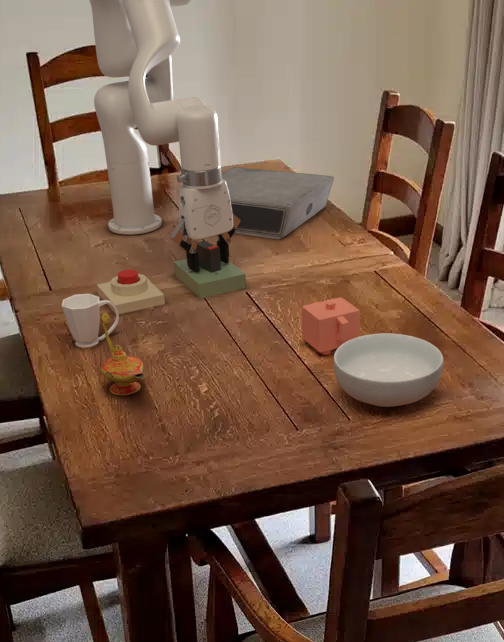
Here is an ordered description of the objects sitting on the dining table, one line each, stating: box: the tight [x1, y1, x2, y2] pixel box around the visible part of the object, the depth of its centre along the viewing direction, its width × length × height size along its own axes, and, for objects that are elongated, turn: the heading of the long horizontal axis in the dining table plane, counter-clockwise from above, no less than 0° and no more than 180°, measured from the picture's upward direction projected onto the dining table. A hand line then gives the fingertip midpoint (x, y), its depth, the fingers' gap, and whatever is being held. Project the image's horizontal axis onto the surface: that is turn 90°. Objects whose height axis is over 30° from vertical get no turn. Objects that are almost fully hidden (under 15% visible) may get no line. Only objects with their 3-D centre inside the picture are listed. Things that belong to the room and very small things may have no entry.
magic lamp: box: [100, 312, 146, 396], centre depth 153 cm, size 7×18×11 cm, turn 25°
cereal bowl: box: [333, 332, 444, 408], centre depth 149 cm, size 17×17×7 cm
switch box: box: [96, 273, 166, 315], centre depth 187 cm, size 12×10×4 cm
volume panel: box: [173, 258, 247, 299], centre depth 193 cm, size 14×10×3 cm
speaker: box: [221, 166, 335, 241], centre depth 223 cm, size 24×8×30 cm
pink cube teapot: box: [301, 296, 361, 356], centre depth 165 cm, size 8×12×8 cm, turn 24°
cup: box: [61, 293, 120, 348], centre depth 171 cm, size 7×10×8 cm
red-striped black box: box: [195, 240, 221, 272], centre depth 191 cm, size 6×2×5 cm, turn 36°
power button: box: [117, 269, 139, 284], centre depth 186 cm, size 4×4×2 cm
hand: (208, 265), depth 192 cm, fingers open, 6 cm apart
